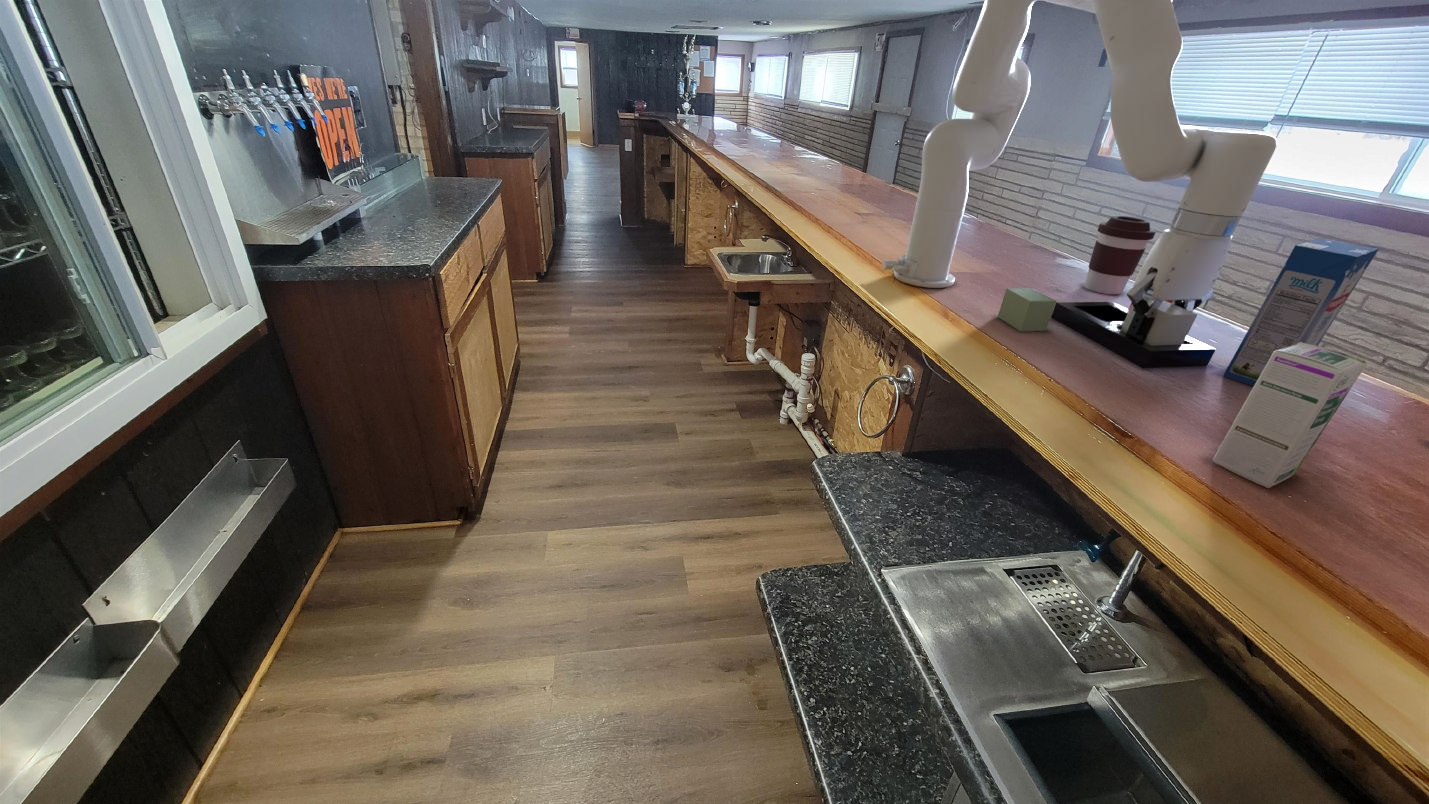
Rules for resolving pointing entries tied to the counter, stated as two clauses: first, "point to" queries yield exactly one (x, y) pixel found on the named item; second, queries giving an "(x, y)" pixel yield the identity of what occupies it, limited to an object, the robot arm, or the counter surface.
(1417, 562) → the counter surface
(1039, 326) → the pale green block
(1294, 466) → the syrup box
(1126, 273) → the coffee cup
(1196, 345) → the frame
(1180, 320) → the light grey block
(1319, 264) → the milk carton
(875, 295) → the counter surface
